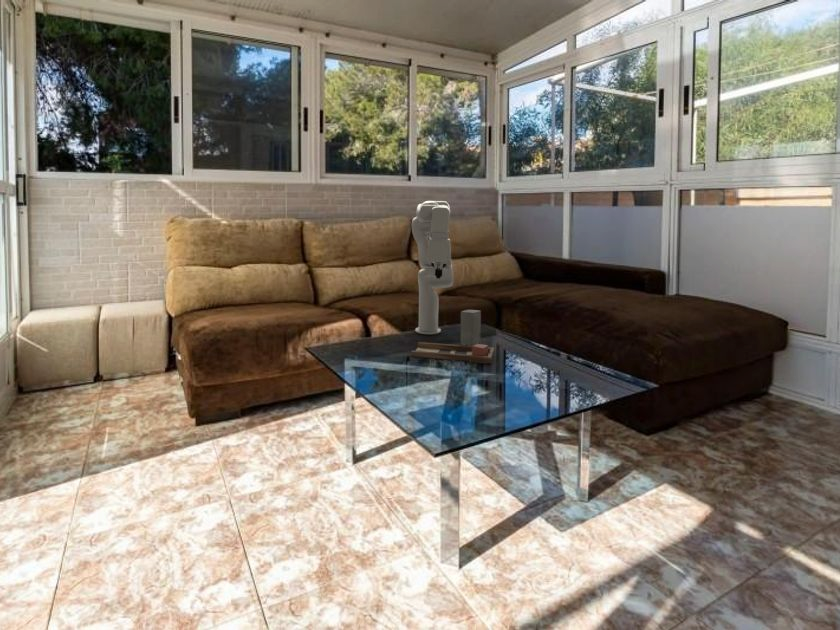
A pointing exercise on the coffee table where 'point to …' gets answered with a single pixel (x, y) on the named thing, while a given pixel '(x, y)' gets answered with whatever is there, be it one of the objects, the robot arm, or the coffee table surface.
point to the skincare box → (470, 327)
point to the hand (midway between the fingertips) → (438, 277)
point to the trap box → (451, 352)
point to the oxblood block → (480, 350)
